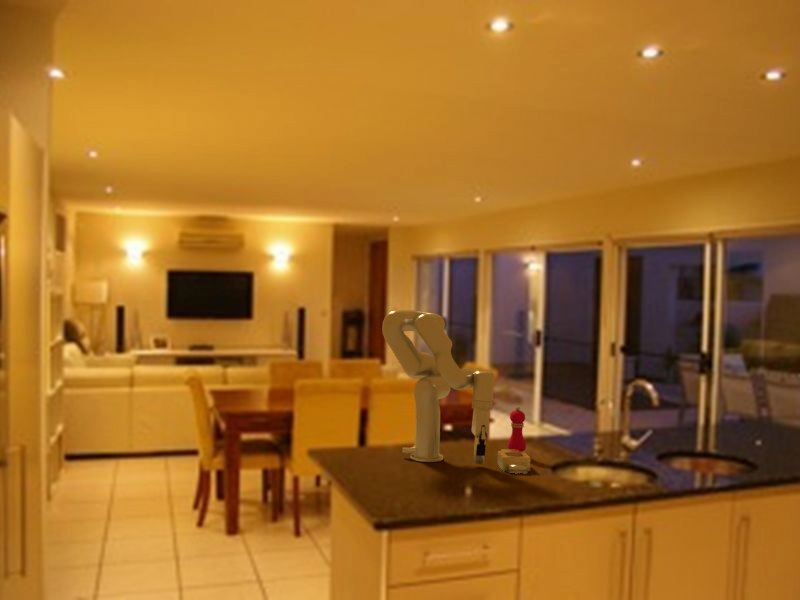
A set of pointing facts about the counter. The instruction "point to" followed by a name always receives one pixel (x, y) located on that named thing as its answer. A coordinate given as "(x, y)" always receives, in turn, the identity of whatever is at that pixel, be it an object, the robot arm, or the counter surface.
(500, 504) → the counter surface
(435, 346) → the robot arm
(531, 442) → the counter surface
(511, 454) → the beige stand
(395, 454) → the counter surface
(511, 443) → the pepper mill
